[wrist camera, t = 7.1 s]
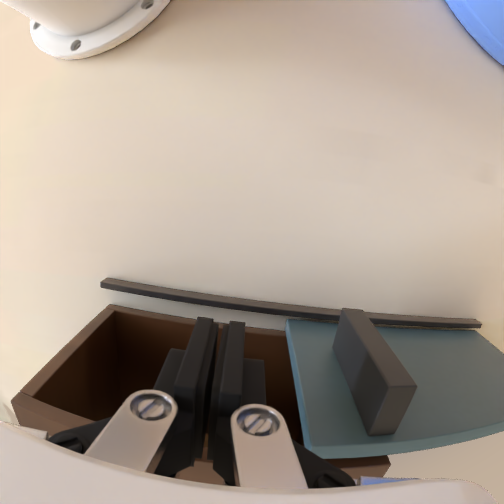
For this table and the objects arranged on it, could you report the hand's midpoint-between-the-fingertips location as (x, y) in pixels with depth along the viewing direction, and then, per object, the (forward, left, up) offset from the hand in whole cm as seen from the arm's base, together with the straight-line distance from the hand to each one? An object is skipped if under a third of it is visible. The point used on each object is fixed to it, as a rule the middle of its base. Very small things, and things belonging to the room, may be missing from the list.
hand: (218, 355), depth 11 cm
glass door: (+1, +11, -9) cm, 14 cm away
